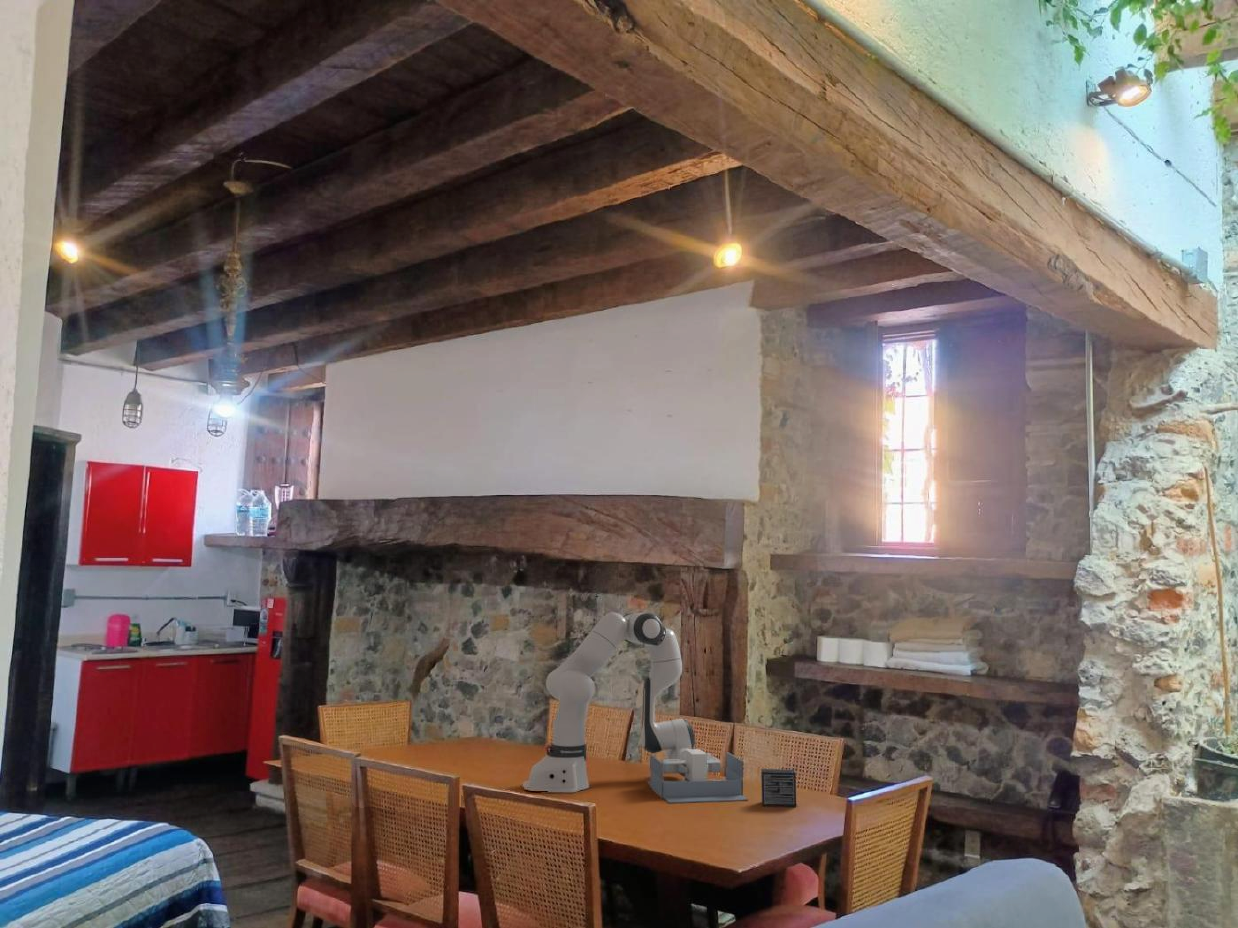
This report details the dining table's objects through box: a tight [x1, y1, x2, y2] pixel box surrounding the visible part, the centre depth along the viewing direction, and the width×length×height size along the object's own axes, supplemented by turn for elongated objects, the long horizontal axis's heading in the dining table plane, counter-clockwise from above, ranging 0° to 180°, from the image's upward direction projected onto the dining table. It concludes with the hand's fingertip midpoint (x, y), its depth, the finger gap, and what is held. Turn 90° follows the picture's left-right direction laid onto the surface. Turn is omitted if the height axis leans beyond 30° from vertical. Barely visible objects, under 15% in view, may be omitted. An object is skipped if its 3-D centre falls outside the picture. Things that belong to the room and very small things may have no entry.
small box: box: [760, 768, 798, 808], centre depth 303 cm, size 11×6×10 cm, turn 84°
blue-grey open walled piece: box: [646, 751, 749, 804], centre depth 322 cm, size 28×32×11 cm
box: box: [684, 748, 708, 781], centre depth 320 cm, size 5×9×12 cm, turn 11°
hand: (696, 770), depth 319 cm, fingers closed on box, 5 cm apart
